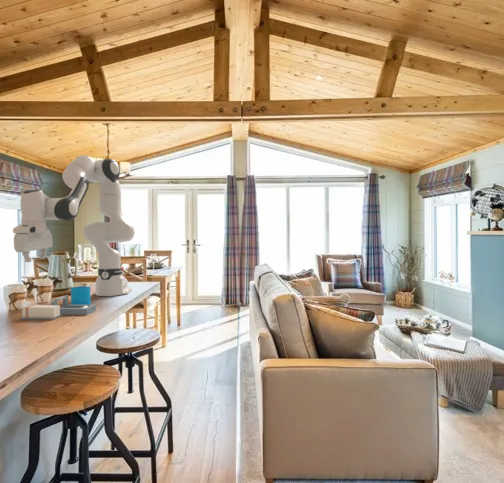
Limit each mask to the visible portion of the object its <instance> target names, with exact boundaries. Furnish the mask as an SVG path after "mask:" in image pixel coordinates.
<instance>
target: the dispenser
mask: <svg viewBox="0 0 504 483" xmlns="http://www.w3.org/2000/svg"><path fill="white" fill-rule="evenodd" d="M69 297H70V296H69V294H65V295H62V296H58V297H56V298H52V299H50V305H58V301H62V305H61V307H60V314H62V316H67V315H69V316H76V315H77V316H88V315H90V314H92V313H93V312H96V311H97V304H91V305H71V304H69Z"/></svg>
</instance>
